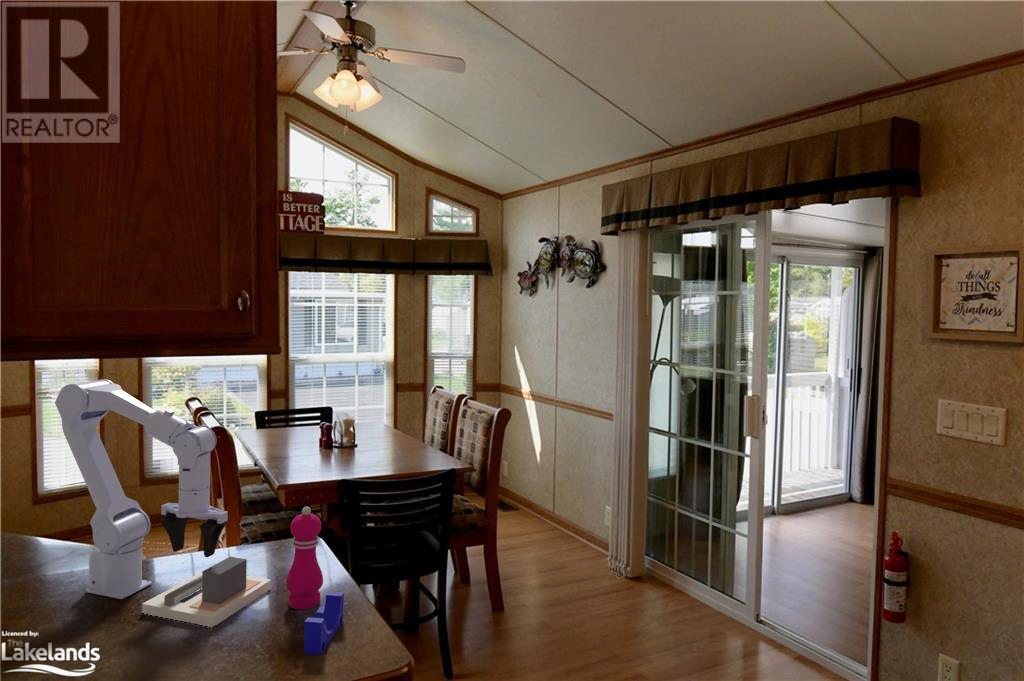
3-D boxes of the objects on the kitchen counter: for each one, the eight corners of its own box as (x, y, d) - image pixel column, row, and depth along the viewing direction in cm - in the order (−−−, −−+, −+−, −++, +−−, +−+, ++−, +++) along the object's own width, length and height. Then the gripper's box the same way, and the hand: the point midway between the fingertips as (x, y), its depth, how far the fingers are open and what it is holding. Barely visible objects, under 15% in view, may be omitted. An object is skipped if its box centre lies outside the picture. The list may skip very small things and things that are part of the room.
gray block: (202, 601, 131) (202, 571, 131) (229, 584, 139) (230, 556, 138) (219, 604, 130) (219, 574, 130) (246, 587, 138) (246, 559, 137)
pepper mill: (307, 591, 142) (309, 499, 141) (330, 601, 138) (332, 506, 136) (278, 603, 136) (280, 506, 135) (300, 614, 132) (302, 515, 131)
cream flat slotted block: (142, 613, 129) (142, 592, 129) (207, 577, 147) (208, 558, 146) (211, 628, 125) (211, 606, 125) (271, 588, 142) (271, 569, 142)
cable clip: (320, 620, 130) (321, 590, 130) (343, 622, 130) (343, 592, 129) (295, 653, 118) (296, 620, 118) (320, 655, 118) (321, 622, 117)
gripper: (149, 488, 134) (149, 554, 135) (210, 496, 130) (209, 565, 131) (176, 479, 140) (175, 542, 141) (235, 487, 137) (234, 552, 137)
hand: (193, 552), depth 136 cm, fingers open, 7 cm apart
